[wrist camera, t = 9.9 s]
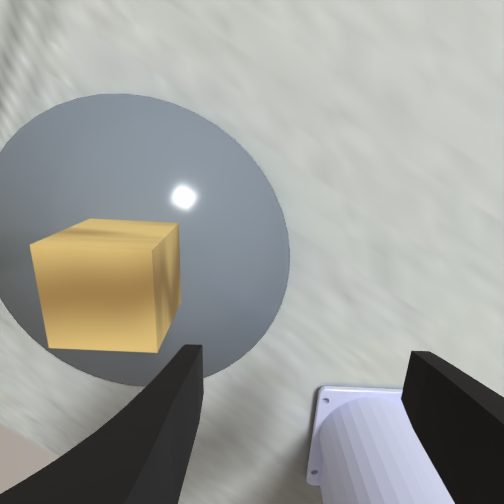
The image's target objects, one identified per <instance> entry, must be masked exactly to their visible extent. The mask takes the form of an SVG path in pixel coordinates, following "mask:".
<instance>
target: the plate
mask: <svg viewBox="0 0 504 504" xmlns="http://www.w3.org/2000/svg"><path fill="white" fill-rule="evenodd" d="M88 219H110V220H130V221H151V222H172V223H179V242H180V280H181V303H180V305H179V308H178V310H177V312H176V314H175V316H174V318H173V320H172V323H171V325H170V327H169V329H168V331H167V333H166V335H165V338H164V340H163V342H162V344H161V346H160V348H159V350H158V353H150V352H128V351H105V350H82V349H59V348H49V346H48V341H47V335H46V330H45V324H44V319H43V314H42V308H41V303H40V298H39V292H38V287H37V282H36V276H35V271H34V265H33V260H32V255H31V249H30V244H33V243H35V242H37V241H39V240H42V239H44V238H46V237H49V236H51V235H53V234H56V233H58V232H60V231H62V230H65V229H67V228H69V227H72V226H74V225H76V224H79V223H81V222H83V221H85V220H88ZM289 265H290V248H289V240H288V231H287V228H286V224H285V220H284V216H283V212H282V210H281V207H280V205H279V202H278V200H277V197H276V195H275V192H274V190H273V189H272V187H271V185H270V183H269V182H268V180H267V178H266V176H265V175H264V173H263V171H262V170H261V169H260V167H259V166H258V165H257V163H256V162H255V161H254V160H253V158H252V157H251V156H250V154H249V153H248V152H247V151H246V150H245V149H244V148H243V147H242V146H241V145H240V144H239V143H238V142H237V141H236V140H235V139H233V138H232V137H231V136H230V135H228V134H227V133H226V132H224V131H223V130H222V129H221V128H219V127H218V126H217V125H215V124H213V123H211V122H210V121H208V120H206V119H205V118H203V117H201V116H200V115H198V114H196V113H194V112H192V111H190V110H187V109H185V108H183V107H180V106H178V105H176V104H173V103H170V102H166V101H163V100H159V99H155V98H152V97H147V96H139V95H131V94H99V95H94V96H88V97H82V98H77V99H74V100H71V101H68V102H65V103H62V104H59V105H57V106H55V107H53V108H51V109H49V110H47V111H45V112H43V113H41V114H39V115H38V116H36V117H35V118H34V119H32V120H31V121H30V122H28V123H27V124H26V125H24V126H23V127H22V128H20V130H19V131H18V132H17V133H16V134H15V135H14V136H13V137H12V138H11V139H10V140H9V141H8V142H7V143H6V145H5V146H4V148H3V149H2V151H1V152H0V298H1V300H2V301H3V303H4V305H5V306H6V308H7V309H8V311H9V312H10V313H11V315H12V316H13V317H14V319H15V320H16V321H17V323H18V324H19V325H20V326H21V327H22V328H23V329H24V330H25V331H26V332H27V333H28V334H29V335H30V336H31V337H32V338H33V339H34V340H35V341H36V342H38V343H39V344H40V345H41V346H42V347H43V348H45V349H46V350H47V351H49V352H50V353H52V354H53V355H55V356H56V357H57V358H59V359H60V360H62V361H64V362H66V363H67V364H69V365H71V366H73V367H75V368H77V369H79V370H81V371H83V372H86V373H88V374H91V375H93V376H96V377H99V378H102V379H106V380H109V381H112V382H117V383H122V384H127V385H136V386H147V385H148V384H149V383H150V382H151V381H152V380H153V379H154V378H155V377H156V376H157V375H158V374H159V373H160V371H161V370H162V369H163V368H164V367H165V366H166V365H167V364H168V363H169V361H170V360H171V359H172V358H173V357H174V356H175V354H176V353H177V352H178V351H179V350H180V348H181V347H182V346H183V345H185V344H193V345H202V346H203V378H205V377H207V376H210V375H213V374H215V373H217V372H219V371H221V370H223V369H225V368H227V367H228V366H230V365H231V364H233V363H234V362H236V361H237V360H239V359H240V358H242V357H243V356H244V355H245V354H246V353H247V352H248V351H249V350H251V349H252V348H253V347H254V346H255V345H256V344H257V342H258V341H259V340H260V339H261V338H262V337H263V336H264V334H265V333H266V331H267V330H268V328H269V327H270V325H271V324H272V322H273V321H274V319H275V317H276V315H277V312H278V310H279V308H280V306H281V304H282V300H283V297H284V294H285V291H286V287H287V281H288V275H289Z"/></svg>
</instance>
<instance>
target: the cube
mask: <svg viewBox="0 0 504 504" xmlns="http://www.w3.org/2000/svg"><path fill="white" fill-rule="evenodd" d="M30 249H31V255H32V260H33V265H34V271H35V276H36V282H37V287H38V292H39V298H40V303H41V308H42V314H43V319H44V324H45V330H46V335H47V341H48V346H49V348H59V349H82V350H105V351H128V352H150V353H158V350H159V348H160V346H161V344H162V342H163V340H164V338H165V335H166V333H167V331H168V329H169V327H170V325H171V323H172V320H173V318H174V316H175V314H176V312H177V310H178V308H179V305H180V303H181V280H180V242H179V223H172V222H151V221H130V220H110V219H88V220H85V221H83V222H81V223H79V224H76V225H74V226H72V227H69V228H67V229H65V230H62V231H60V232H58V233H56V234H53V235H51V236H49V237H46V238H44V239H42V240H39V241H37V242H35V243H33V244H30Z"/></svg>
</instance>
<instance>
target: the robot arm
mask: <svg viewBox="0 0 504 504" xmlns="http://www.w3.org/2000/svg"><path fill="white" fill-rule="evenodd" d="M203 394H204V390H203V346H202V345H193V344H185V345H183V346H182V347H181V348H180V350H179V351H178V352H177V353H176V354H175V356H174V357H173V358H172V359H171V360H170V361H169V363H168V364H167V365H166V366H165V367H164V368H163V369H162V370H161V371H160V373H159V374H158V375H157V376H156V377H155V378H154V379H153V380H152V381H151V382H150V383H149V384H148V385H147V386H146V387H145V388H144V389H143V390H142V391H141V392H140V393H139V394H138V395H137V396H136V397H135V398H134V399H133V400H132V401H131V402H130V403H129V404H128V405H127V406H125V407H124V408H123V409H122V410H121V411H120V412H119V413H118V414H116V415H115V416H114V417H113V418H112V419H111V420H109V421H108V422H107V423H106V424H104V425H103V426H102V427H101V428H100V429H98V430H97V431H96V432H94V433H93V434H92V435H90V436H89V437H88V438H86V439H85V440H83V441H82V442H81V443H79V444H78V445H76V446H75V447H74V448H72V449H71V450H70V451H68V452H67V453H65V454H64V455H63V456H61V457H60V458H58V459H57V460H55V461H53V462H52V463H50V464H49V465H47V466H46V467H44V468H43V469H41V470H40V471H38V472H36V473H35V474H33V475H31V476H30V477H28V478H27V479H25V480H23V481H22V482H20V483H18V484H17V485H15V486H13V487H12V488H10V489H8V490H6V491H5V492H3V493H2V494H0V504H178V500H179V496H180V492H181V488H182V485H183V481H184V477H185V474H186V470H187V466H188V462H189V459H190V455H191V451H192V447H193V444H194V440H195V436H196V432H197V428H198V425H199V420H200V413H201V407H202V400H203ZM324 398H327V399H325V400H323V399H324ZM306 479H307V483H308V484H309V485H313V486H320V489H321V495H322V500H323V504H504V397H502V396H501V395H499V394H497V393H496V392H494V391H493V390H491V389H489V388H488V387H486V386H485V385H483V384H481V383H480V382H478V381H477V380H475V379H474V378H472V377H470V376H469V375H467V374H466V373H464V372H463V371H461V370H459V369H458V368H456V367H455V366H453V365H452V364H450V363H448V362H447V361H445V360H443V359H442V358H440V357H438V356H437V355H435V354H433V353H431V352H429V351H411V355H410V360H409V364H408V369H407V373H406V378H405V382H404V387H403V389H386V388H362V387H338V386H323V387H321V388H320V389H319V392H318V399H317V405H316V412H315V419H314V426H313V433H312V440H311V447H310V454H309V461H308V468H307V474H306Z"/></svg>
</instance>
